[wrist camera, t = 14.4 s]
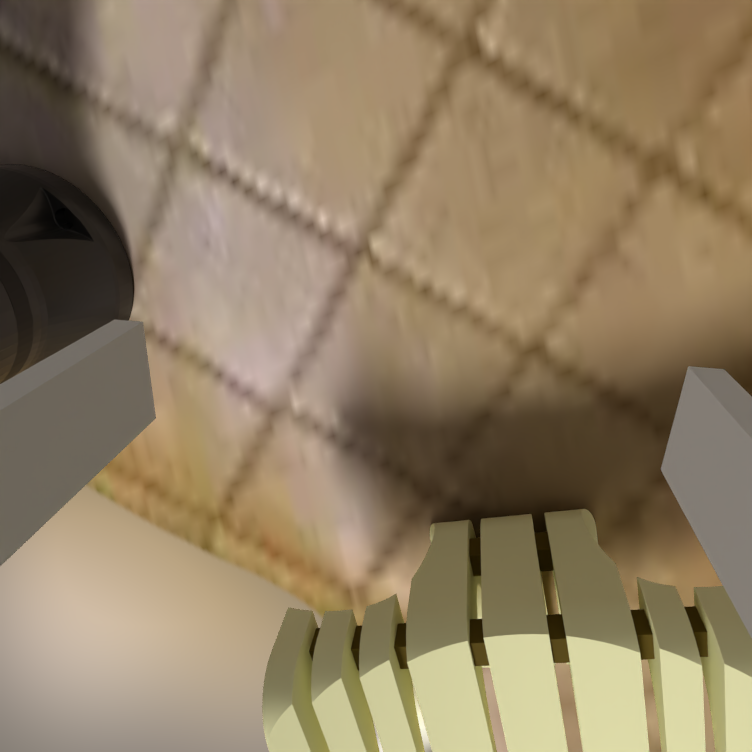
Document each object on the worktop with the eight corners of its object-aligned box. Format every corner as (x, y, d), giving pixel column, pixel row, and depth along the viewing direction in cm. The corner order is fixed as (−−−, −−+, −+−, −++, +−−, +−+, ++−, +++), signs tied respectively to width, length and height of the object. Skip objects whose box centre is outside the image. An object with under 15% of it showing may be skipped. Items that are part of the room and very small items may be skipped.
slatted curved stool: (713, 474, 43) (858, 691, 27) (717, 639, 48) (839, 899, 32) (323, 515, 50) (250, 707, 33) (367, 655, 55) (323, 876, 39)
